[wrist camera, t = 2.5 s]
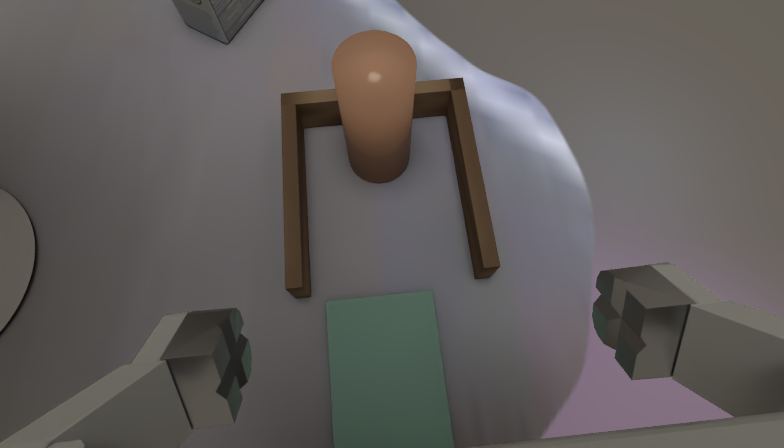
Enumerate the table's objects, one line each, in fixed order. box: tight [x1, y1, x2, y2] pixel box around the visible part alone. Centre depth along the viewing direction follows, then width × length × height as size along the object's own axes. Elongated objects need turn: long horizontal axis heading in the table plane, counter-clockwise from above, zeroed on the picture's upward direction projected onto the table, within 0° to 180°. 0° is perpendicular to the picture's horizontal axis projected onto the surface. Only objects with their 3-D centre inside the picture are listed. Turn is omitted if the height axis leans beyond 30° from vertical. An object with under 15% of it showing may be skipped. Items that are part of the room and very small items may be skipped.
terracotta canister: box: [332, 30, 417, 183], centre depth 28 cm, size 4×4×10 cm
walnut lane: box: [281, 78, 500, 298], centre depth 30 cm, size 13×14×3 cm
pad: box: [326, 290, 455, 448], centre depth 27 cm, size 7×10×1 cm
